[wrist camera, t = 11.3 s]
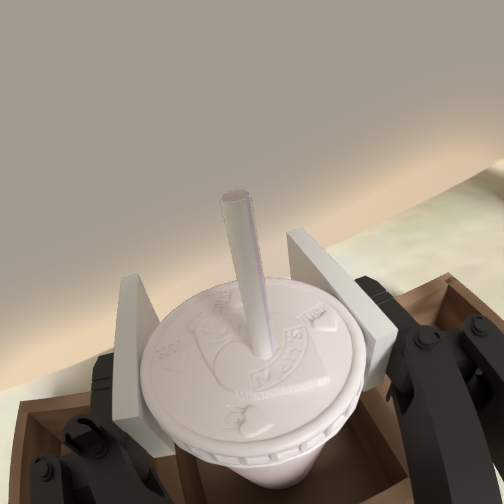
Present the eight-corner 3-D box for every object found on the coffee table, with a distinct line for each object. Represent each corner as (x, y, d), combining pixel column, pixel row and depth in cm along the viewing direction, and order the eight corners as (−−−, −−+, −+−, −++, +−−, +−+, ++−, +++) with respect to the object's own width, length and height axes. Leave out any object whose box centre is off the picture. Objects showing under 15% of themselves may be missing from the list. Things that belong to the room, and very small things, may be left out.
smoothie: (296, 533, 9) (253, 427, 2) (192, 471, 13) (20, 245, 5) (359, 433, 13) (414, 160, 6) (260, 392, 17) (205, 147, 10)
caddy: (434, 315, 22) (447, 266, 19) (522, 412, 12) (558, 370, 9) (56, 431, 17) (16, 396, 14) (60, 569, 7) (5, 555, 4)
